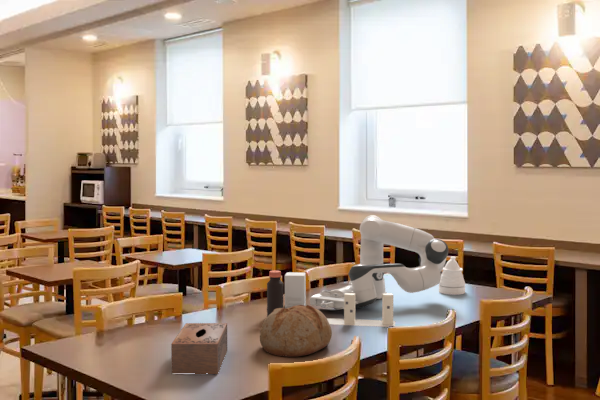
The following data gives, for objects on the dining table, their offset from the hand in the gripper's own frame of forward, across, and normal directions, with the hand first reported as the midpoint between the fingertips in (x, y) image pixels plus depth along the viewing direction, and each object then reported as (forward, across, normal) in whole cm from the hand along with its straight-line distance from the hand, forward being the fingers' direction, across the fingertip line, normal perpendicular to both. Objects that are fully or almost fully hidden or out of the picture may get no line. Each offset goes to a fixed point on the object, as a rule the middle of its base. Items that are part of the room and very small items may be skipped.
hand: (323, 305), depth 282 cm
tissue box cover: (+75, +4, -4) cm, 75 cm away
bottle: (+13, +16, -5) cm, 21 cm away
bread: (+44, -14, -5) cm, 47 cm away
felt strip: (+3, -14, -5) cm, 16 cm away
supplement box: (-11, +21, -5) cm, 24 cm away
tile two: (+5, -15, -5) cm, 16 cm away
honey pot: (-79, -28, -7) cm, 84 cm away
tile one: (-3, -28, -5) cm, 29 cm away
